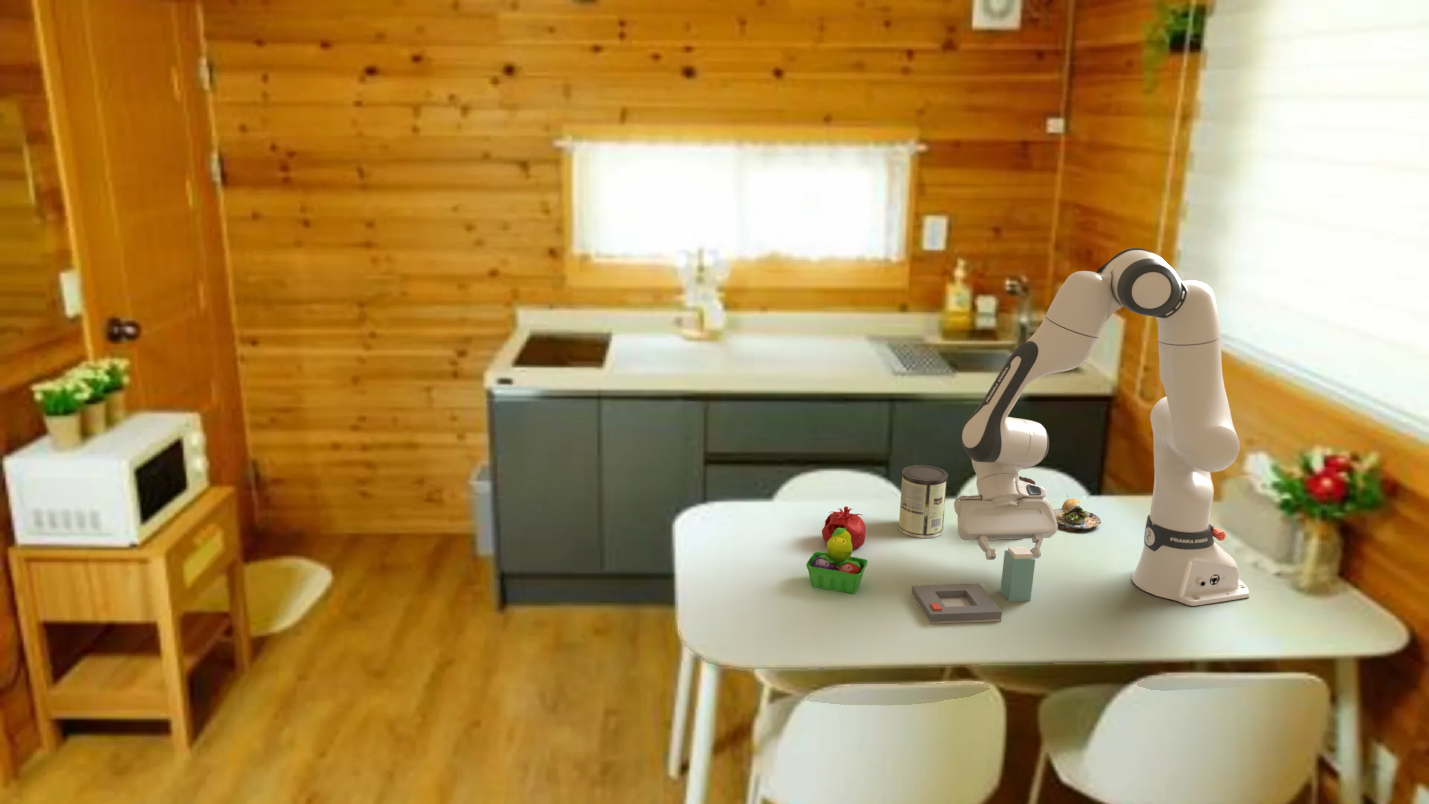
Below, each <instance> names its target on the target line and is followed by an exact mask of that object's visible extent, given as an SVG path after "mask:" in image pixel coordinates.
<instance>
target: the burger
mask: <svg viewBox="0 0 1429 804" xmlns="http://www.w3.org/2000/svg"><path fill="white" fill-rule="evenodd" d="M1066 495H1067V498H1068V499H1065V501H1063V503H1062V505H1061V508H1056V509H1053V511H1054V514H1055V517H1056V521H1057V525H1058V529H1057V530H1061V531H1063V532H1064V531H1065V532H1069V533H1072V534H1073V533H1075V531H1077V530H1088V529H1089V530H1090V529H1093V528H1095V527H1098V526H1099V525H1101V524H1102V521H1101V519H1100V518H1099V516H1097V515H1096V514H1094V513H1092V512H1088V511H1086V510H1084V509H1083V507H1080V505H1079V503H1080V500H1079V499H1076V498H1069V494H1066Z"/></svg>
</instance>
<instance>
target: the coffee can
mask: <svg viewBox="0 0 1429 804" xmlns="http://www.w3.org/2000/svg"><path fill="white" fill-rule="evenodd" d="M901 476H902V478H901V488H900V489H901V490H900V492H901V493H900V503H899V504H900V505H899V518H898V519H899V523H898V530H899V531H900V532H901V533H902V534H904V535H907V536H909V537H912V538H919V539H932V538H937V537H939V536H941V535H942V534H943V532H944V521H945V507H946V496H947V485H948V478H949V473H948V472H947V471H946V470H945V469H942V468H940V467H937V466H933V465H927V464H915V465H914V464H913V465H909V466H906V467H904V468H903V469H902V470H901Z"/></svg>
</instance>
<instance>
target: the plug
mask: <svg viewBox="0 0 1429 804" xmlns="http://www.w3.org/2000/svg"><path fill="white" fill-rule="evenodd" d="M1030 550H1031V549H1030ZM1030 550H1029V549H1028V547H1027V546H1026V545H1021V546H1020V545H1019V546H1008V547H1007V550H1006V549H1005V550H1004V554H1003V562H1002V563H1003V565H1002V572H1001V573H1002V574H1001V583H1000V592H1001V594H1002V596H1003V597H1005V599H1006V600H1007V601H1008V602H1028V601H1031V599H1032V592H1033V591H1032V589H1033V582H1034V576H1035V575H1034V574H1035V568H1036V567H1035V566H1036V558H1034V557H1033V554H1032V553H1031V551H1030Z"/></svg>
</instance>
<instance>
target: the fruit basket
mask: <svg viewBox="0 0 1429 804" xmlns="http://www.w3.org/2000/svg"><path fill="white" fill-rule="evenodd" d="M826 549H827V552H822V551H816V552H815V551H814V552H813V554H812V555H811V557H810V558H809V559H808V560H807V562H806V564H805V566H806V569H807V571H808V575H809V579H810V583H811V587H812V588H813V587H814V588H818V589H824V590H832V591H835V592H839V593H840V592H841V593H848V594H853V595H854V594H856V592H857V590H858V588H859V586H860V584H861V581H862V578H863V576H864V572H865V569H866V567H867V566H868V560H867V559H866V558H860V557H855V556H852V554H853V549H852V543H851V535H850V534H849V533H848V532H847V531H846V528H837V529H836V530H835V531H834V533H833V534H832V537H831V538H830V539H829V540H828V542H827V543H826Z"/></svg>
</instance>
